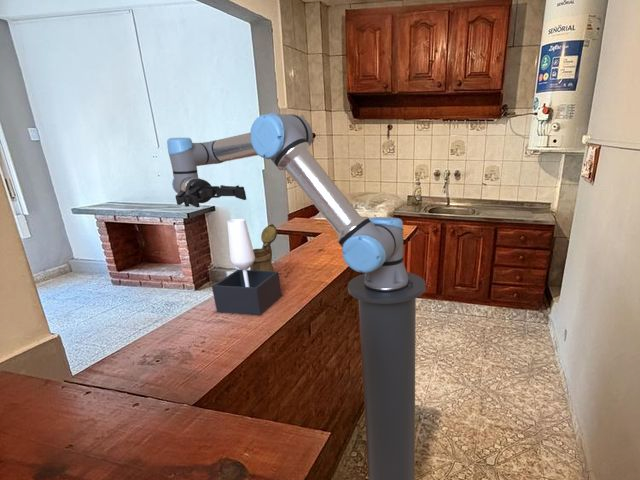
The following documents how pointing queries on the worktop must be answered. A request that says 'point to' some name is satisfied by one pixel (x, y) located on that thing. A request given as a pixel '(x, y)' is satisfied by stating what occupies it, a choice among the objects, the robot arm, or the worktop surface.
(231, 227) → the champagne flute
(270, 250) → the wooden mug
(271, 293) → the dark grey open box
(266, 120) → the robot arm
